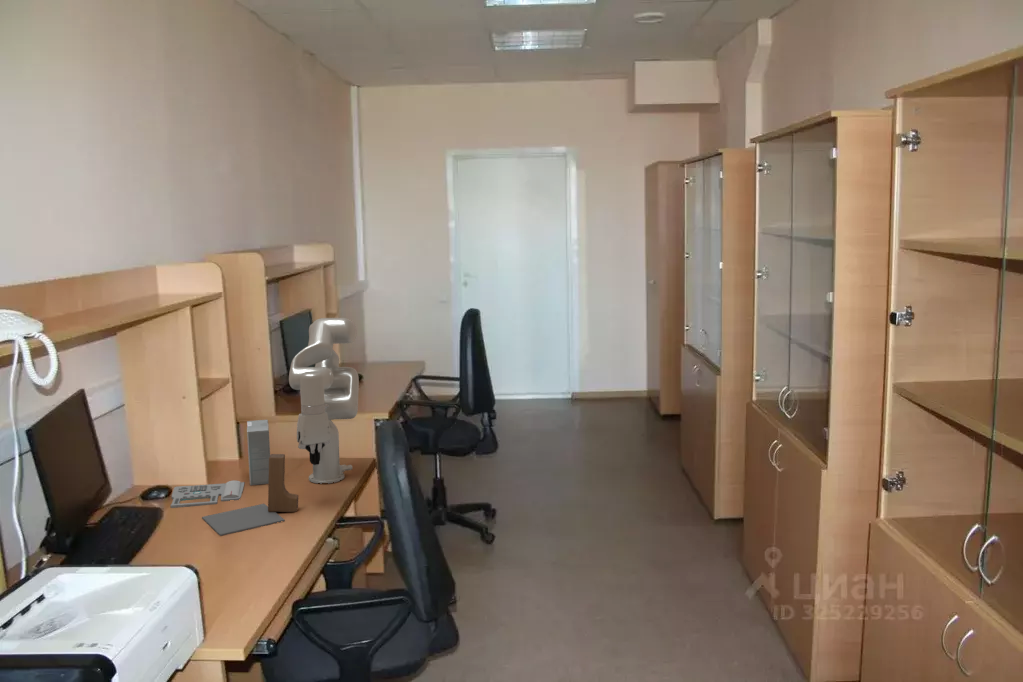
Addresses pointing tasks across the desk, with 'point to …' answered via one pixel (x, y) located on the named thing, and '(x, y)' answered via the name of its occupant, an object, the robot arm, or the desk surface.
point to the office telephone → (207, 493)
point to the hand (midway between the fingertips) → (315, 463)
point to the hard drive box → (258, 451)
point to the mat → (242, 519)
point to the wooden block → (279, 487)
